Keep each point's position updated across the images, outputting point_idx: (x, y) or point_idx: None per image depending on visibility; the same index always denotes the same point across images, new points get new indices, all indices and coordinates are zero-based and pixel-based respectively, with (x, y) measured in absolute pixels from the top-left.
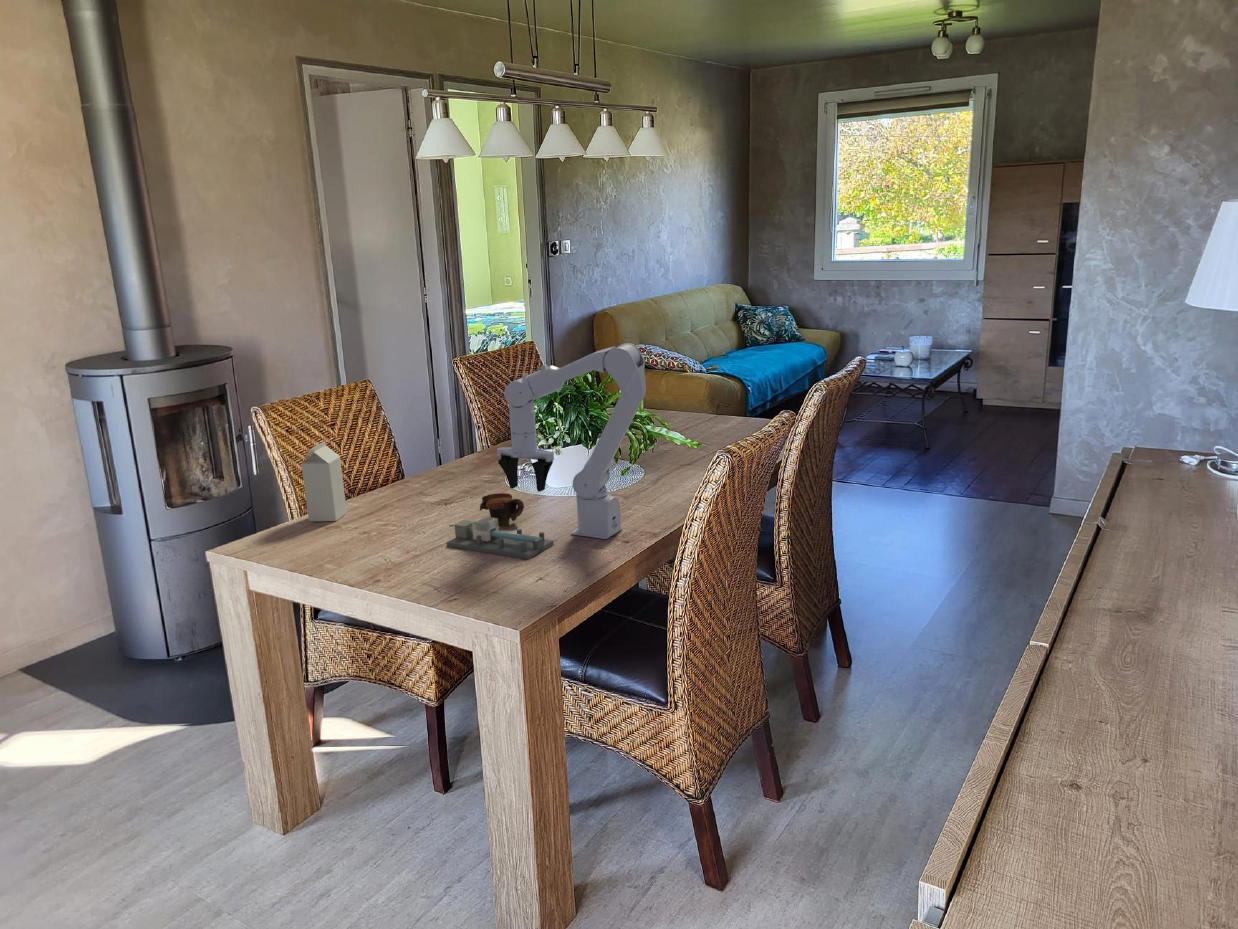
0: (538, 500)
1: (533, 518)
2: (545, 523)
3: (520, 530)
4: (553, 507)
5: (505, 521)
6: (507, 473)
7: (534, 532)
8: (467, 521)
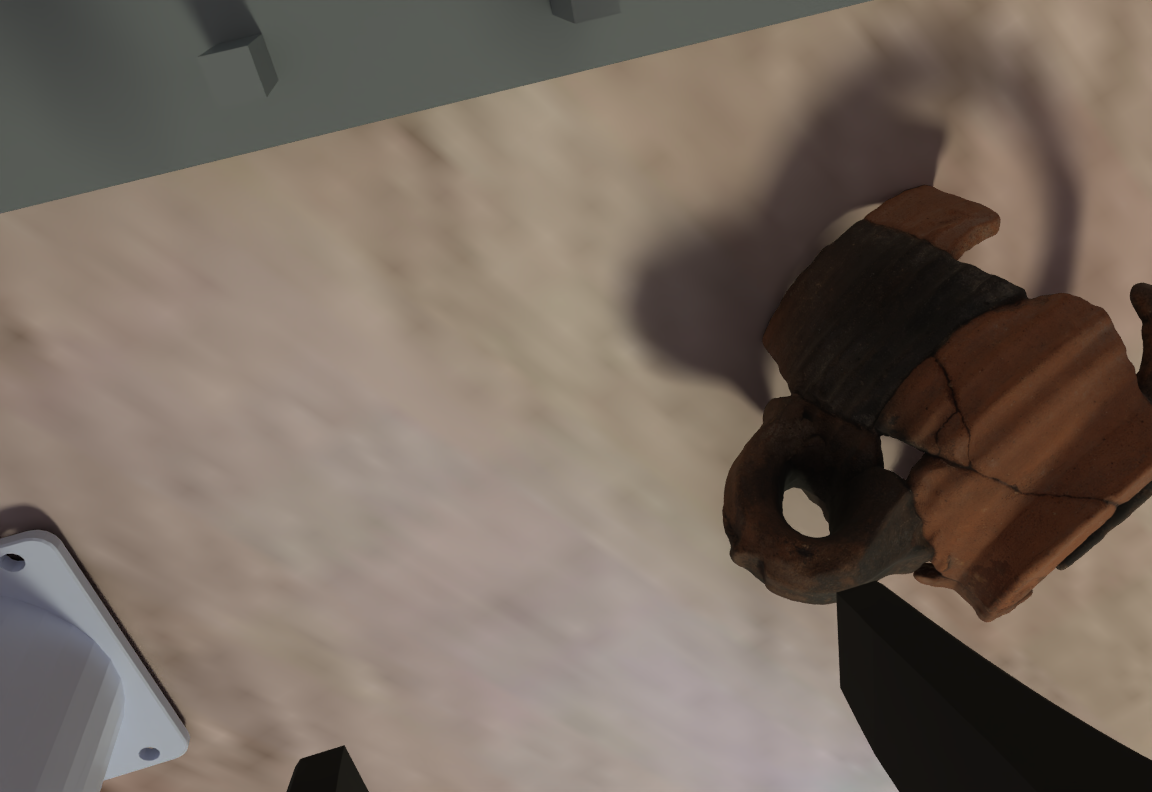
0: None
1: (706, 568)
2: (527, 560)
3: (204, 75)
4: (745, 765)
5: (796, 332)
6: (1072, 779)
7: (411, 365)
8: None
